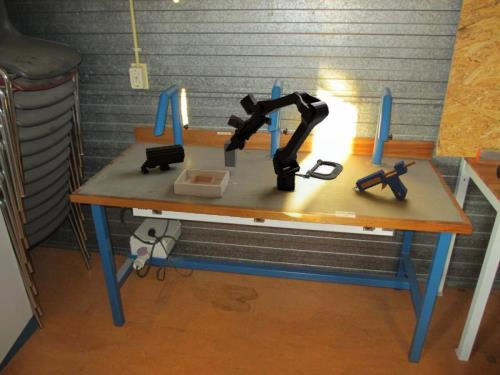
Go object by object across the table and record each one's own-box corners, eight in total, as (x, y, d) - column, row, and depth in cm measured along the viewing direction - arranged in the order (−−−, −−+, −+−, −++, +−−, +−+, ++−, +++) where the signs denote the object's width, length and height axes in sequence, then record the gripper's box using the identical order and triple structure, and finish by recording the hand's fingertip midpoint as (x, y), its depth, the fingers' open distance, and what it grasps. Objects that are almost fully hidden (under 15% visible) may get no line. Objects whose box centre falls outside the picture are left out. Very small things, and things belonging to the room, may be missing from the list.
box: (229, 181, 159) (229, 171, 157) (221, 197, 146) (221, 186, 144) (186, 178, 161) (185, 168, 159) (174, 194, 149) (173, 183, 147)
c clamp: (328, 185, 157) (329, 178, 155) (290, 175, 165) (290, 169, 164) (348, 168, 172) (348, 162, 170) (311, 160, 180) (312, 154, 179)
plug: (237, 163, 167) (237, 140, 163) (235, 167, 163) (234, 144, 159) (227, 162, 168) (226, 139, 163) (224, 166, 164) (223, 143, 159)
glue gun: (365, 210, 155) (349, 183, 153) (429, 183, 142) (412, 154, 140) (363, 215, 150) (347, 188, 149) (429, 188, 137) (412, 158, 136)
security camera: (140, 170, 170) (137, 148, 165) (183, 164, 175) (181, 142, 171) (142, 176, 164) (139, 153, 159) (186, 170, 170) (184, 147, 165)
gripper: (243, 103, 163) (218, 128, 169) (234, 115, 146) (207, 142, 153) (262, 122, 165) (237, 146, 171) (255, 137, 148) (228, 162, 155)
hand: (227, 148), depth 163 cm, fingers closed on plug, 4 cm apart
